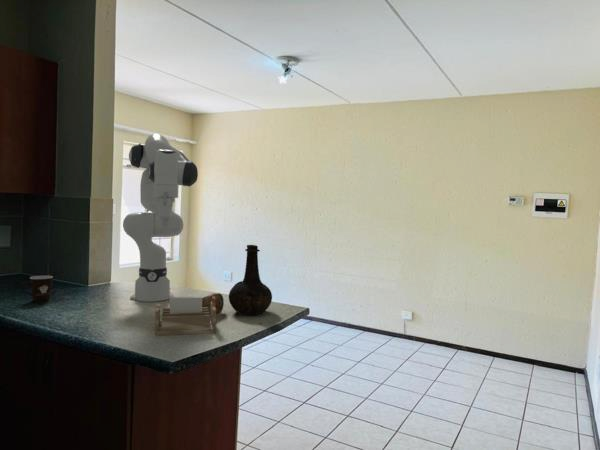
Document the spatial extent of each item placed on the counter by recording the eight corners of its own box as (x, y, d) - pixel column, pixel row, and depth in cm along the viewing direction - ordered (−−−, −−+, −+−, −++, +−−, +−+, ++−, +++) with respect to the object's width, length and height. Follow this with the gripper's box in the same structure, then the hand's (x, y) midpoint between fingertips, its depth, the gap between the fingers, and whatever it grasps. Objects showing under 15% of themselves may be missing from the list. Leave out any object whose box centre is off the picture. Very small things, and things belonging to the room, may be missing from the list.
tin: (204, 320, 170) (204, 298, 170) (197, 319, 171) (197, 297, 171) (224, 312, 184) (224, 291, 184) (217, 311, 185) (218, 291, 185)
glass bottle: (250, 305, 197) (252, 242, 196) (280, 312, 186) (283, 245, 184) (219, 312, 183) (220, 244, 182) (249, 320, 172) (251, 248, 171)
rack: (156, 324, 162) (157, 294, 162) (212, 322, 167) (213, 293, 167) (155, 335, 150) (155, 302, 149) (215, 332, 155) (216, 301, 154)
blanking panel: (169, 325, 158) (170, 297, 158) (201, 323, 161) (202, 296, 160) (169, 326, 156) (169, 298, 156) (201, 325, 159) (202, 297, 159)
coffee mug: (54, 297, 198) (54, 275, 197) (50, 302, 190) (50, 278, 189) (24, 298, 194) (24, 275, 194) (19, 303, 186) (19, 279, 185)
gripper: (174, 193, 158) (173, 232, 159) (175, 193, 178) (174, 228, 179) (155, 192, 157) (155, 231, 157) (158, 192, 176) (157, 227, 177)
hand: (165, 229), depth 168 cm, fingers closed
